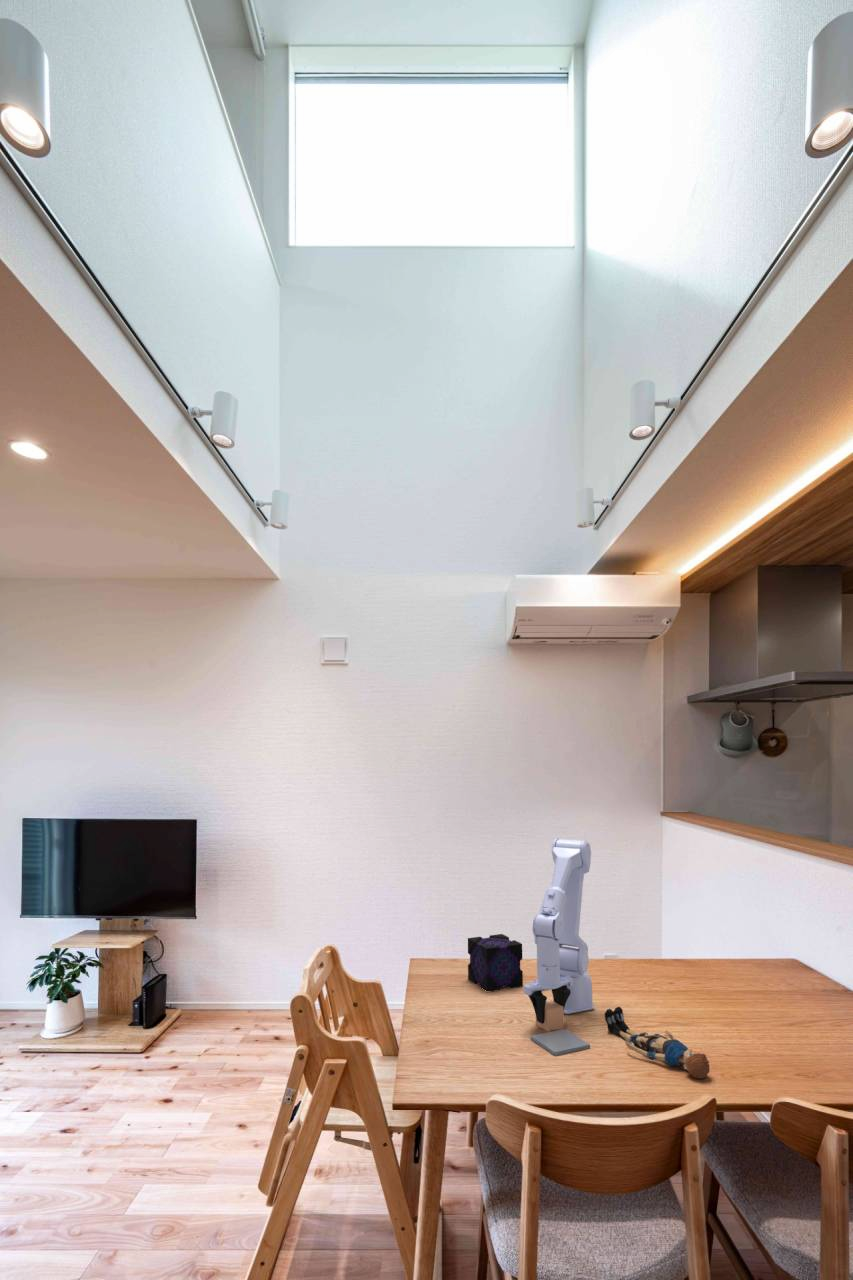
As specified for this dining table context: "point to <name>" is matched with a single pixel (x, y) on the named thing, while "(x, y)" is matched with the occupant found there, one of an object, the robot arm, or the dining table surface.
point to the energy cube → (495, 962)
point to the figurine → (658, 1046)
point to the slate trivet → (560, 1042)
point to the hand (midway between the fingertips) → (549, 1019)
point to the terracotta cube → (552, 1017)
